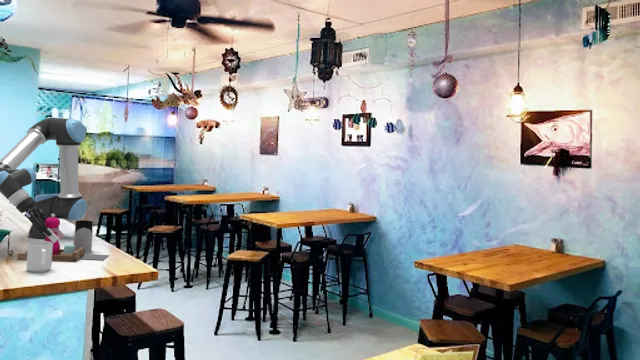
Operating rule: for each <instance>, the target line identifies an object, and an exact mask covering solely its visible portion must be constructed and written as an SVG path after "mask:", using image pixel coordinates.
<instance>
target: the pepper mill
mask: <svg viewBox="0 0 640 360" xmlns="http://www.w3.org/2000/svg"><path fill="white" fill-rule="evenodd" d="M60 220H61V219H58V218H56V217H55V214H51V217H49V218H47V219H46V221H45V225H46V227H47V229H48V228H49V229H50V230H51V231H52V232H53V233H54V234H55V235H56V236H57V231H58V229H60V225H61V221H60ZM58 226H59V228H58ZM44 241H48V242H52V241H51V240H50V239H49V238H48V237H47V236H46V239H44ZM52 243H53V242H52ZM60 249H61V245H60V241H59V239H58V240H57V241H56V242H55V243H53V251H52V255H58V253H57V252H58V251H59V250H60Z"/></svg>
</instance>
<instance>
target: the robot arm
mask: <svg viewBox="0 0 640 360" xmlns="http://www.w3.org/2000/svg"><path fill="white" fill-rule="evenodd" d="M86 131H87V130H86V127H85V126H84V124H83V122H82V121H80V120H78V119H73V118H60V117H47V118H44V119H41V120H40V121H38V122H36V123H34V124H33V125H32V126H31V127H29V129H28V130H27V131H26V135H24V136H23V137H22V138H21V140H19V142H17V143H16V144H15V145H14V146H13V147H12V148H11V149H10V150H9V151H8V152H7V153H6V154H5V155H3V157H2V158H0V193H1V195H2V196H3V197H4V198H6V200H8V202H9V204H11V205H12V206H14V207H15V209H16V210H17V211H18V212H19V213H20V214H23V213H25V214H24V215H23V216H24V217H25V218H26V219H28V221H30V222H31V226H30V228H29V230H28V235H27V236H28V238H31V239H38V240H39V239H42V240H45V239H46V236H47V237H48V238H49V239H50V240H51V241H52V242H53V243H55V242H56V241H57V240H58V241H59V240H62V239H63V238H65V236H66V234H65V233H64V232H63V231H62V230H61V229H60V225H59V226H58V228H59V229H58V231H57V236H56V235H55V234H54V233H53V232H52V231H51V230H50V229H49V228H48V229H47V227H46V225H45V221H46V219H47V218H49V217H51V214H55V217H56V218H58V219H59V220H67V221H80V220H81V219H82V218H83V217H84V216H85V214H86V213H87V209H88V203H87V200H85V199H83V194H82V193H80V191H79V190H80V189H79V186H80V185H79V147H80V146H81V145H82V142H84V140H85V139H86V135H87V134H86V133H87V132H86ZM48 141H55V145H56V146H57V147H58V149H59V174H60V175H59V176H60V177H59V178H60V180H59V182H60V183H59V184H60V192H59V193H47V194H36V196H34V198H33V197H32V196H30V194H29V193H28V192H27V191H26V190H25V189H24V187H26V186H28V185H31V184H32V183H34V182H35V181H36V180H37V173H36V171H35V170H34V169H33V168H31V167H24V168H21V169H18V168H19V166H20V165H22V163H23V162H24V161H25V160H26V159H27V158H28V157H30V156H31V154H32V153H33V152H34V151H35V150H36V149H37V148H38V147H39V146H40V145H44V144H45V143H46V142H48Z"/></svg>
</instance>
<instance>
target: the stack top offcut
mask: <svg viewBox="0 0 640 360" xmlns="http://www.w3.org/2000/svg"><path fill="white" fill-rule="evenodd" d="M63 249H64V253H73V252H74V244H64V246H63Z"/></svg>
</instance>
